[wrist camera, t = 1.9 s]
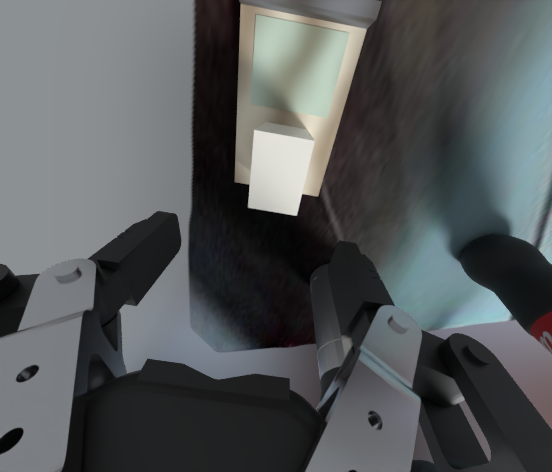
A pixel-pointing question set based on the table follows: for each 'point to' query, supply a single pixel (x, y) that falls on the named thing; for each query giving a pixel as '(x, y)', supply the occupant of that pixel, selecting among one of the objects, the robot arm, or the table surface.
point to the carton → (279, 167)
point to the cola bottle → (515, 280)
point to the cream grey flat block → (297, 72)
